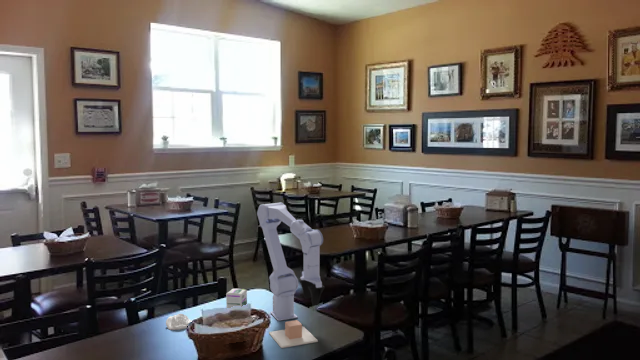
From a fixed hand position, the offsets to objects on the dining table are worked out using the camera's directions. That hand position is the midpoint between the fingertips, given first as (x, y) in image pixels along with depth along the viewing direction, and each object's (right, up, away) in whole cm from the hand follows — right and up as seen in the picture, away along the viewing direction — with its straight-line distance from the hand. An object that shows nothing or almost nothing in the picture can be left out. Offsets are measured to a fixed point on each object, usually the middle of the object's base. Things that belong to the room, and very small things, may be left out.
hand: (311, 301), depth 182 cm
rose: (-48, -10, +5) cm, 50 cm away
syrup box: (-26, -11, 0) cm, 29 cm away
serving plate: (-6, -11, -6) cm, 14 cm away
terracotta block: (-6, -10, -6) cm, 14 cm away
